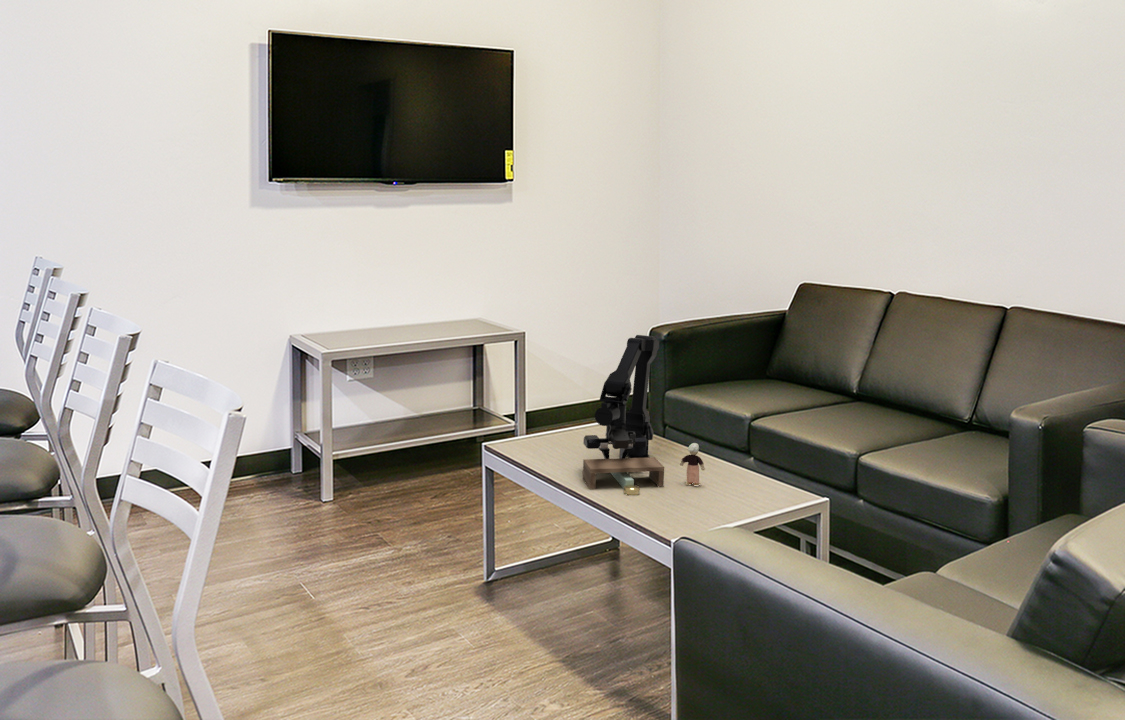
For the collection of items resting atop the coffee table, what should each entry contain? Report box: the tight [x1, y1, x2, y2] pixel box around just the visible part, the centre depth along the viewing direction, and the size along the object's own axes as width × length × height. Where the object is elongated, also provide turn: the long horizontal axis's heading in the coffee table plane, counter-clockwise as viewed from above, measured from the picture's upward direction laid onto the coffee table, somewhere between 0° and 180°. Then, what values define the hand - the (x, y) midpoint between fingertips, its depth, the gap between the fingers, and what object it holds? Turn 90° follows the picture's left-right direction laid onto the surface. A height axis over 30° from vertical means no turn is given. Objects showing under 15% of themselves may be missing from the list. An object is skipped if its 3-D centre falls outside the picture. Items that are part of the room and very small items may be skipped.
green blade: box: [610, 472, 635, 489], centre depth 283 cm, size 2×22×4 cm, turn 11°
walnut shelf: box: [582, 456, 665, 490], centre depth 279 cm, size 22×10×6 cm, turn 101°
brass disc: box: [623, 484, 641, 496], centre depth 270 cm, size 4×4×2 cm
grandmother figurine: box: [679, 442, 706, 485], centre depth 279 cm, size 8×4×13 cm, turn 71°
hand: (614, 468), depth 290 cm, fingers open, 3 cm apart
